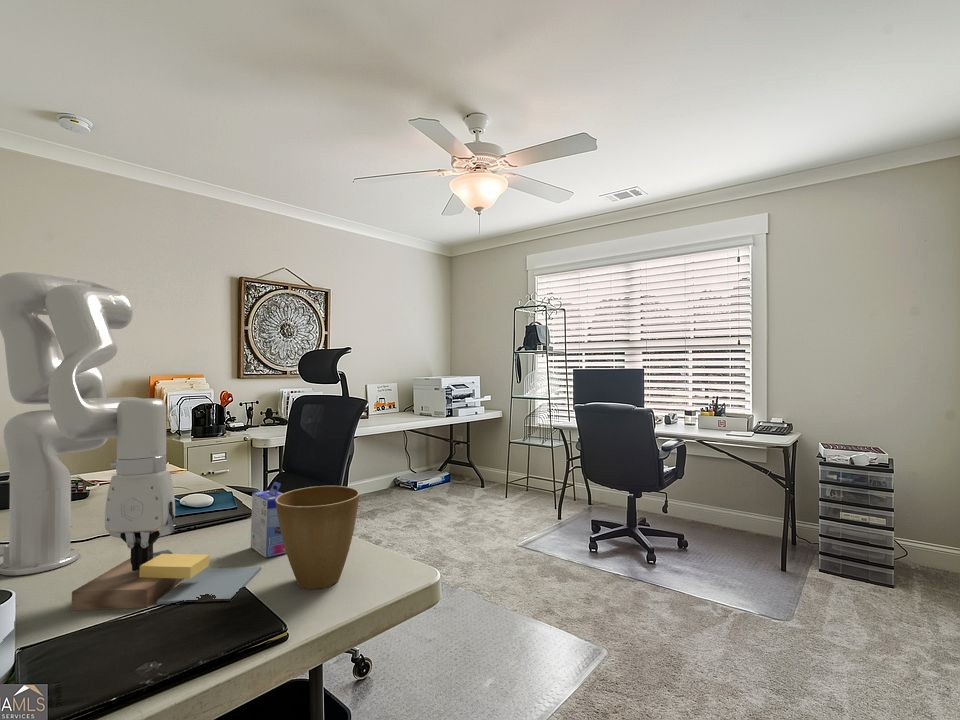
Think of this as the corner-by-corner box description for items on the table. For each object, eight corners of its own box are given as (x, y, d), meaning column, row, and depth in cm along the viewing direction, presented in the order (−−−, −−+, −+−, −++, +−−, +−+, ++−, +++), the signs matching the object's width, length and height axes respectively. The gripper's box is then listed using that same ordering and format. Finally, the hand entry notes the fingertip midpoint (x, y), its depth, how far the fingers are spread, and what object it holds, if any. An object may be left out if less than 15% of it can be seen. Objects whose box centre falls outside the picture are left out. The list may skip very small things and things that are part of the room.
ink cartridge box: (292, 552, 108) (292, 485, 108) (266, 559, 104) (266, 489, 105) (275, 541, 115) (274, 478, 116) (249, 547, 111) (249, 482, 112)
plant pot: (265, 579, 94) (265, 493, 94) (341, 560, 103) (341, 482, 103) (289, 607, 82) (289, 510, 83) (373, 583, 91) (372, 495, 92)
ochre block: (139, 577, 88) (139, 565, 88) (161, 564, 94) (161, 553, 94) (190, 578, 88) (190, 567, 88) (209, 565, 94) (209, 554, 94)
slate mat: (156, 604, 84) (157, 601, 84) (198, 571, 98) (198, 568, 98) (230, 601, 85) (230, 598, 85) (261, 569, 99) (261, 566, 99)
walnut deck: (71, 610, 82) (71, 591, 82) (133, 571, 98) (133, 556, 98) (147, 607, 83) (147, 589, 83) (196, 569, 99) (196, 554, 99)
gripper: (84, 471, 87) (83, 578, 87) (172, 469, 88) (172, 574, 87) (113, 463, 95) (113, 561, 94) (194, 461, 95) (195, 558, 95)
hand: (142, 567), depth 91 cm, fingers closed
